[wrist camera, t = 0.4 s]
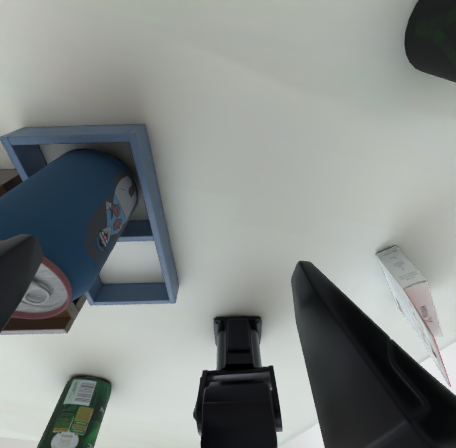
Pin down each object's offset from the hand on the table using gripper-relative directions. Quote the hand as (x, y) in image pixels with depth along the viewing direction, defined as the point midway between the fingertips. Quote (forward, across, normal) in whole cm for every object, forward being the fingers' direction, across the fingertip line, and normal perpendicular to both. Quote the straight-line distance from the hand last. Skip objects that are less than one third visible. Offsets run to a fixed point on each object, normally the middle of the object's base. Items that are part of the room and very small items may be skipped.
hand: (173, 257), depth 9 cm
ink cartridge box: (+14, -24, +13) cm, 31 cm away
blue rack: (+14, +8, +10) cm, 19 cm away
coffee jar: (+15, +17, +47) cm, 52 cm away
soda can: (+14, +9, +5) cm, 17 cm away
